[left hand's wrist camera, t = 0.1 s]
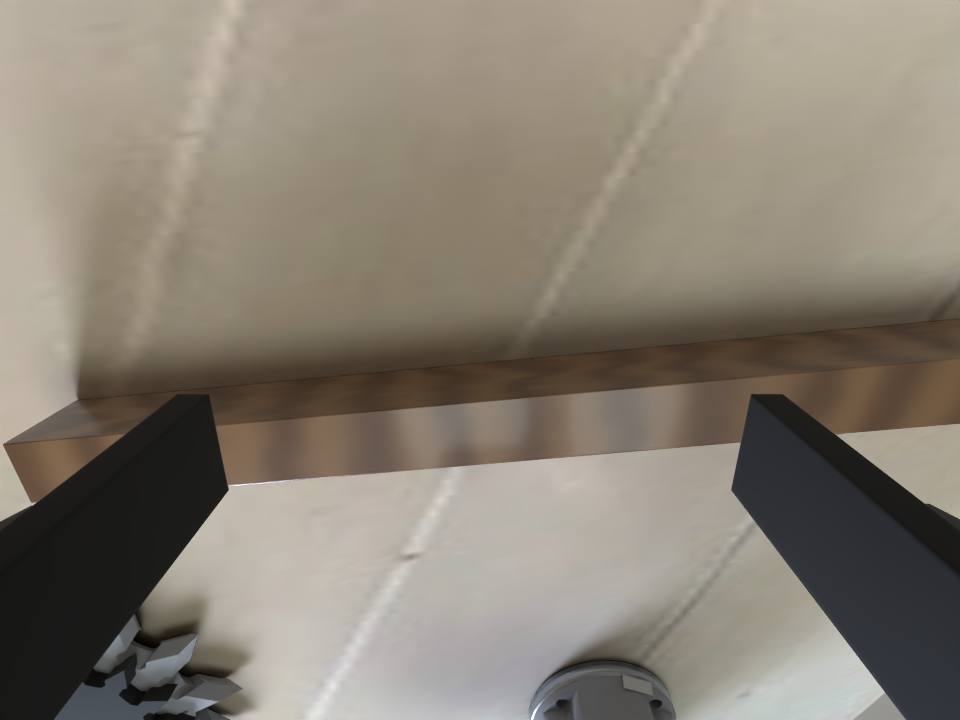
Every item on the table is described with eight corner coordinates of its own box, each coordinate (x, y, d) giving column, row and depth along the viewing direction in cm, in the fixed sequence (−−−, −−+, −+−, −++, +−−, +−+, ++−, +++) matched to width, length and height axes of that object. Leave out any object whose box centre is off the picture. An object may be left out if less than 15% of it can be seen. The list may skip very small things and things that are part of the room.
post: (1003, 314, 41) (1107, 345, 34) (987, 373, 42) (1083, 413, 36) (76, 400, 43) (1, 444, 37) (97, 452, 45) (30, 503, 38)
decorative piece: (272, 666, 49) (208, 845, 59) (286, 631, 52) (224, 805, 62) (-75, 572, 45) (-80, 781, 55) (-33, 540, 48) (-45, 742, 58)
